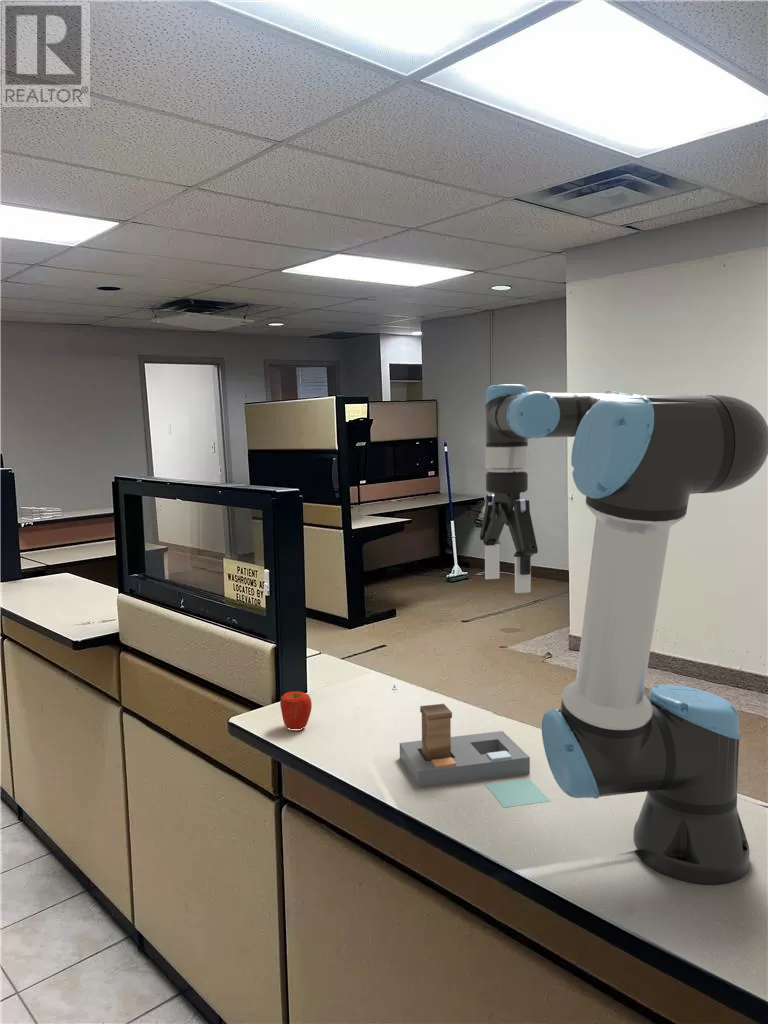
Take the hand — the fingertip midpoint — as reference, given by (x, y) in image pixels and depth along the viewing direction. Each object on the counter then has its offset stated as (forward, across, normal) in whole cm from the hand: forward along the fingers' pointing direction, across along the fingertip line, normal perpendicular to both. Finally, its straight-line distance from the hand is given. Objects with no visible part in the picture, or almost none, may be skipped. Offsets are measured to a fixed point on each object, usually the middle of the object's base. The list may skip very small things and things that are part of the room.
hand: (506, 585), depth 138 cm
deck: (+32, -18, +6) cm, 37 cm away
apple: (+32, +22, +37) cm, 54 cm away
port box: (+32, -6, +11) cm, 34 cm away
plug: (+32, -6, +16) cm, 36 cm away
